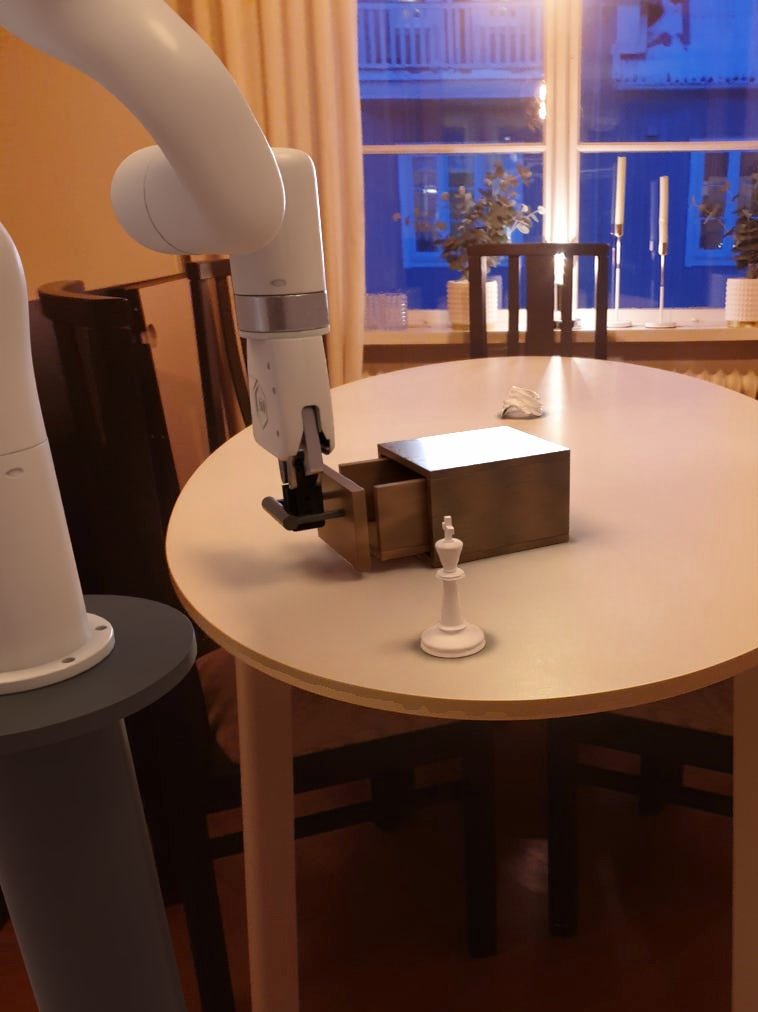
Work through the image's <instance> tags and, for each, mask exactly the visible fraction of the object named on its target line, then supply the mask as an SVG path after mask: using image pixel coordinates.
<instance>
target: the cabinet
mask: <svg viewBox="0 0 758 1012" xmlns="http://www.w3.org/2000/svg"><path fill="white" fill-rule="evenodd" d="M376 447H377V458H384V457H389V458H391V459H392V460H394V461H396V462H398V463H400V464H402V465H404V466H405V467H407V468H409V469H411V470H413V471H415V472H417V473H419V474H420V475H422V476H424V477H426V478H427V494H428V513H429V532H430V551H429V552H424V553H419V554H415V555H416V556H417V557H418V558H420V559H422V561H424V562H425V563H427V564H428V565H430V566H431V567H433V568H434V569H436V568H443V566H442V563H441V561H440V557H439V555H438V553H437V550H436V548H435V543H436V542H437V541H439V540H441V539H444V538H445V531H444V529H443V528H442V522H444V516H450V517H451V520H452V527H453V528H454V534H453V535H452V538H455V539H458V540H460V541H461V542H462V543H463V547H462V551H461V553H460V556H459V561H458V564H462V563H467V562H472V561H476V560H482V559H486V558H491V557H497V556H501V555H506V554H511V553H516V552H521V551H526V550H531V549H536V548H540V547H541V548H542V547H545V546H551V545H556V544H560V543H565V542H569V541H570V510H571V509H570V507H571V504H570V503H571V494H570V493H571V449H570V448H568V447H564V446H562V445H559V444H556V443H553V442H551V441H548V440H545V439H542V438H539V437H537V436H535V435H532V434H529V433H526V432H523V431H520V430H519V429H515V428H512V427H510V426H507V425H504V426H498V427H497V426H496V427H489V428H482V429H477V430H476V429H474V430H467V431H461V432H454V433H446V434H440V435H439V434H438V435H433V436H432V435H431V436H424V437H418V438H410V439H403V440H396V441H389V442H381V443H377V446H376Z"/></svg>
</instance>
